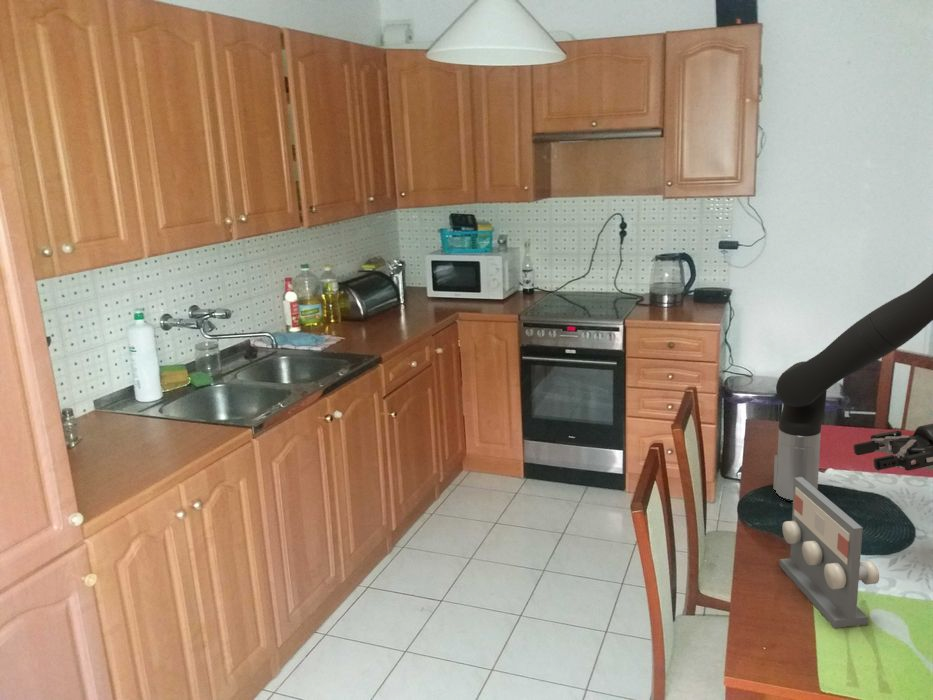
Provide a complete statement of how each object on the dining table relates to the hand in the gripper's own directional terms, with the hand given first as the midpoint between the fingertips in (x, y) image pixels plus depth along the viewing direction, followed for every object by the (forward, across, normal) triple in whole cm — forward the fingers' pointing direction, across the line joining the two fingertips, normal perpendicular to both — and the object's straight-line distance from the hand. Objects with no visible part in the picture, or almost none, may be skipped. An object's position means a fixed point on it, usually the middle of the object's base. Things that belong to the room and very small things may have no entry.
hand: (864, 457), depth 150 cm
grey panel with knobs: (+16, +10, +21) cm, 28 cm away
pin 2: (+13, +18, +15) cm, 27 cm away
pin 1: (+14, +2, +14) cm, 20 cm away
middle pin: (+14, +10, +15) cm, 22 cm away
